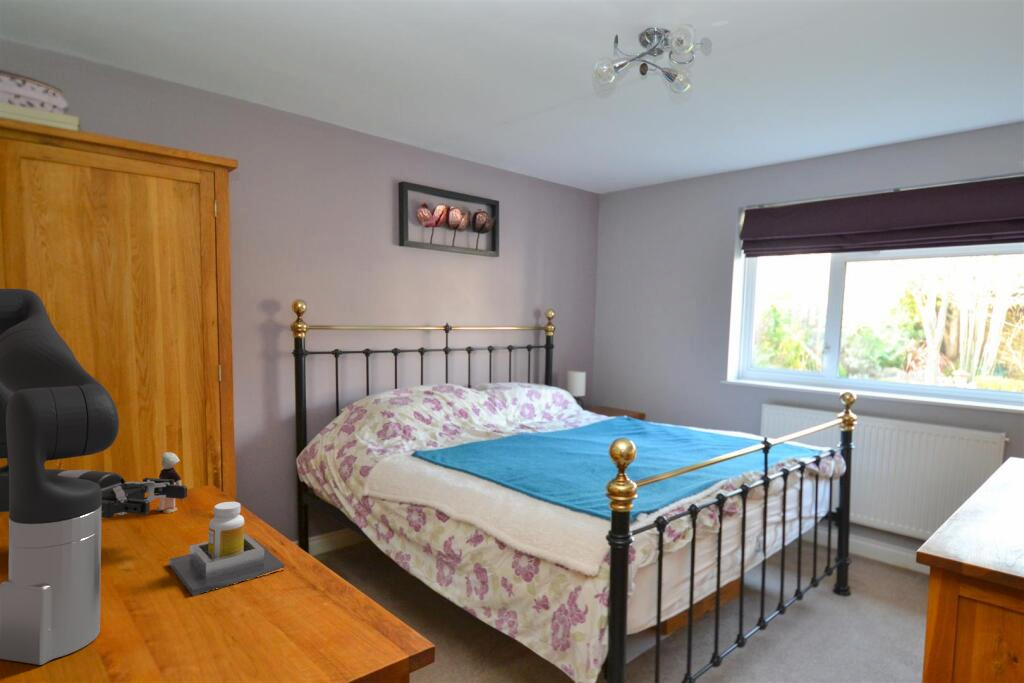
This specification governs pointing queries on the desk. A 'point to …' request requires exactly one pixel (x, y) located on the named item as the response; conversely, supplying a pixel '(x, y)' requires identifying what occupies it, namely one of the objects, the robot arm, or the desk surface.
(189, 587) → the socket plate
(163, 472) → the grandmother figurine
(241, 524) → the supplement bottle
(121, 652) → the desk surface
